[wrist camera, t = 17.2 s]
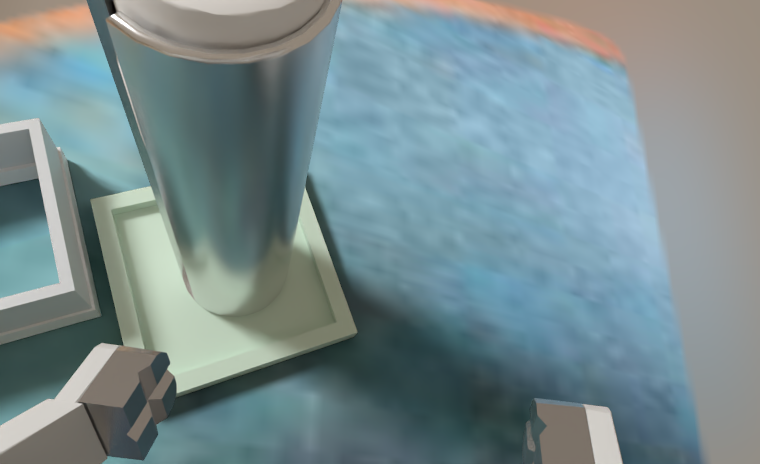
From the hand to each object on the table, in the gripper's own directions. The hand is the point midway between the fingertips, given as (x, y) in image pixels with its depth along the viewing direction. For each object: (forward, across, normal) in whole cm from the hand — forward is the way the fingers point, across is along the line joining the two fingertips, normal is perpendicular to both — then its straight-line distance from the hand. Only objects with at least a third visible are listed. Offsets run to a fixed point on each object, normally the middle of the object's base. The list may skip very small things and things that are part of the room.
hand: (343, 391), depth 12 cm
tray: (+18, +12, +13) cm, 25 cm away
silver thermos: (+18, +11, +12) cm, 25 cm away
